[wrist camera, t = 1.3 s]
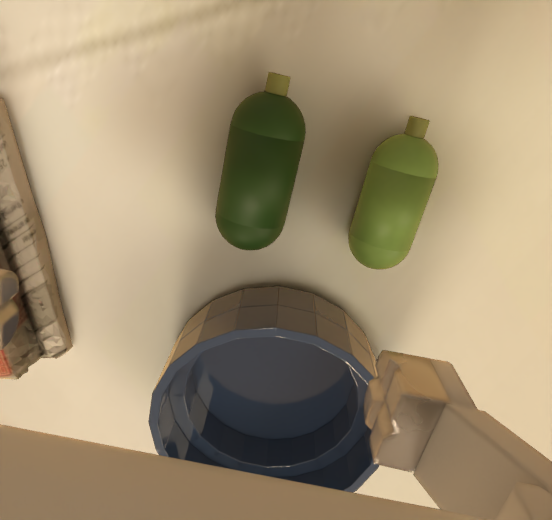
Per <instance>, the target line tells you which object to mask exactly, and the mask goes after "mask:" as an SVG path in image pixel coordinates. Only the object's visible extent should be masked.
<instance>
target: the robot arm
mask: <svg viewBox="0 0 552 520" xmlns="http://www.w3.org/2000/svg"><path fill="white" fill-rule="evenodd" d="M18 292H19V281H18V276H17V275H16V274H15V273H14V272H13V271H9V270H4V269H0V350H2V349H3V348H4V347H5V346H6V345H7V344H8V343H9V342H10V341H11V339H12V337H13V336H14V334H15V332H16V330H17V326H18V322H19V308H18V307H17V305H16V304H15V302H14V301H13V299H12V298H13V297H14V296H15V295H16V294H17V293H18ZM375 367H376V371H377V374H378V376H376V377H375V378H373V379H372V380H370V381H369V383H368V386H367V389H366V392H365V397H364V404H363V413H364V420H365V424H366V425H367V426H368V427H369V428H370V429H371V430H372V431H371V434H370V436H369V444H370V448H371V453H372V457H373V462H374V464H377V465H382V466H386V467H391V468H395V469H400V470H404V471H408V472H413V473H414V474H413V475H414V476H415V477H416V479H417V480H418V481H419V483H420V484H421V485H422V486H423V488H424V489H425V490H426V492H427V493H428V494H429V495H430V497H431V498H432V499H433V500H434V502H435V503H436V504H437V506H438V507H439V508H440V509H441V510H440V509H435V508H430V507H425V506H419V505H414V504H409V503H404V502H399V501H394V500H388V499H383V498H378V497H373V496H368V495H362V494H357V493H352V492H347V491H342V490H337V489H331V488H326V487H321V486H316V485H311V484H306V483H300V482H295V481H290V480H285V479H280V478H274V477H269V476H264V475H259V474H254V473H249V472H243V471H238V470H233V469H228V468H223V467H218V466H212V465H207V464H202V463H197V462H192V461H187V460H181V459H176V458H171V457H166V456H161V455H156V454H150V453H145V452H140V451H135V450H130V449H125V448H119V447H114V446H109V445H104V444H99V443H94V442H88V441H83V440H78V439H73V438H68V437H63V436H57V435H52V434H47V433H42V432H37V431H32V430H27V429H21V428H16V427H11V426H6V425H1V424H0V520H552V462H551V461H550V460H549V459H547V458H546V457H545V456H543V455H542V454H541V453H539V452H538V451H537V450H536V449H534V448H533V447H532V446H530V445H529V444H528V443H526V442H525V441H524V440H522V439H521V438H520V437H518V436H517V435H516V434H514V433H513V432H512V431H510V430H509V429H508V428H506V427H505V426H504V425H502V424H501V423H500V422H498V421H497V420H496V419H494V418H493V417H492V416H490V415H489V414H488V413H486V412H485V411H480V410H478V409H477V407H476V406H475V404H474V402H473V400H472V399H471V397H470V395H469V393H468V392H467V390H466V388H465V386H464V385H463V383H462V381H461V379H460V378H459V376H458V374H457V372H456V371H455V369H454V367H453V365H452V364H450V363H449V362H447V361H441V360H435V359H429V358H425V357H419V356H414V355H408V354H403V353H397V352H392V351H386V350H382V352H381V353H380V355H379V356H378V359H377V362H376V364H375Z"/></svg>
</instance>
